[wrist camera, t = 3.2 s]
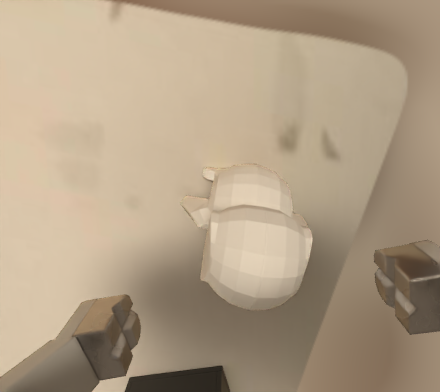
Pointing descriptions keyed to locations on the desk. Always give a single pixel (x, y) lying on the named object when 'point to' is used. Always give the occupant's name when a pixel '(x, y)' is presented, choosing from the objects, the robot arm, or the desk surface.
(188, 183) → the desk surface
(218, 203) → the figurine
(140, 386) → the dark grey hollow box
